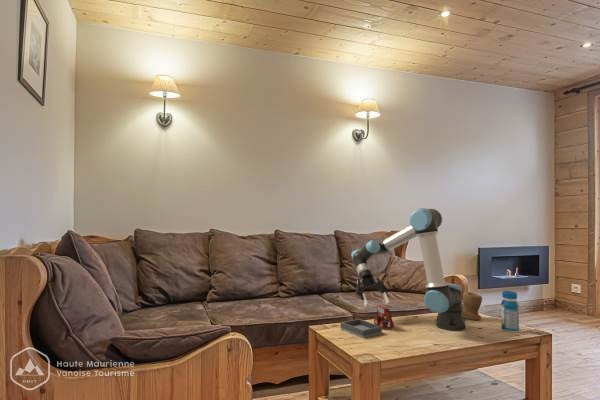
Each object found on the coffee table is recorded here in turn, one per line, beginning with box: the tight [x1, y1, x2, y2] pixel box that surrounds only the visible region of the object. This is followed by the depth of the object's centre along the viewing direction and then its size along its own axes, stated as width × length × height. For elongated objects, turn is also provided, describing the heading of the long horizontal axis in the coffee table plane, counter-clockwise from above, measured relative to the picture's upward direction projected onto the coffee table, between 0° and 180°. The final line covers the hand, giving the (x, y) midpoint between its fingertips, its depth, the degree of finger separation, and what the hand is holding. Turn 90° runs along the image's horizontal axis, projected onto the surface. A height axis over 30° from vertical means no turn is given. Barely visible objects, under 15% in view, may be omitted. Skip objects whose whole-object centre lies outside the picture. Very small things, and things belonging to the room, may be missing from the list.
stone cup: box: [462, 291, 483, 321], centre depth 222 cm, size 15×12×15 cm
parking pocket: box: [340, 318, 383, 339], centre depth 195 cm, size 17×13×4 cm
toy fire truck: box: [373, 305, 395, 330], centre depth 203 cm, size 7×12×10 cm, turn 22°
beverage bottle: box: [500, 290, 520, 333], centre depth 198 cm, size 8×8×20 cm
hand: (377, 304), depth 208 cm, fingers open, 13 cm apart
